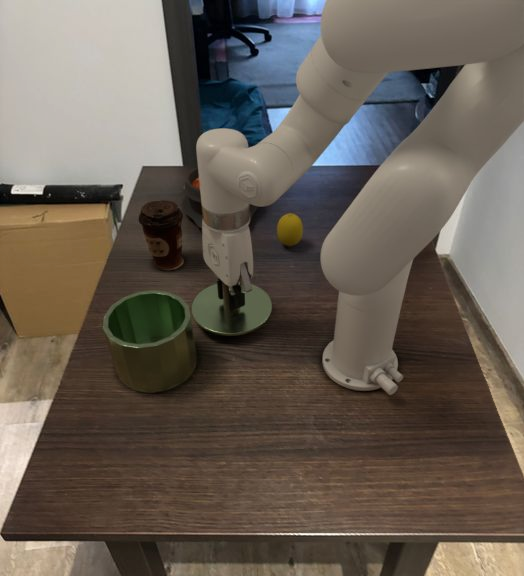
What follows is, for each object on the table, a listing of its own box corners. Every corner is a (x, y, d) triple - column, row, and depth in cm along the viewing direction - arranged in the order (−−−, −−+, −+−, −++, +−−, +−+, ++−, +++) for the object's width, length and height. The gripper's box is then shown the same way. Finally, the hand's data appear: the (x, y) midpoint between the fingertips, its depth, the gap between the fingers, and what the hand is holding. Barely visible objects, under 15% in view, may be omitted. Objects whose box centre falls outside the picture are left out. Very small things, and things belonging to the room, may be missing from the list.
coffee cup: (167, 280, 107) (157, 224, 98) (139, 265, 111) (127, 210, 102) (196, 259, 112) (189, 204, 103) (168, 246, 116) (159, 192, 107)
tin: (210, 371, 89) (204, 325, 82) (135, 405, 84) (122, 359, 77) (176, 326, 97) (168, 280, 90) (105, 354, 92) (91, 309, 85)
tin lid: (287, 319, 96) (288, 288, 91) (215, 349, 91) (212, 318, 85) (246, 277, 105) (244, 246, 100) (178, 302, 99) (173, 271, 94)
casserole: (181, 187, 135) (176, 156, 129) (253, 182, 136) (252, 150, 130) (184, 241, 117) (179, 207, 111) (266, 234, 119) (266, 200, 113)
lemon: (273, 241, 117) (273, 209, 111) (297, 237, 118) (298, 205, 112) (281, 255, 113) (282, 222, 107) (305, 250, 114) (307, 218, 108)
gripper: (182, 197, 87) (193, 285, 100) (231, 244, 77) (236, 335, 90) (222, 185, 89) (227, 272, 102) (274, 229, 80) (273, 320, 93)
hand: (231, 301), depth 96 cm, fingers closed on tin lid, 3 cm apart
